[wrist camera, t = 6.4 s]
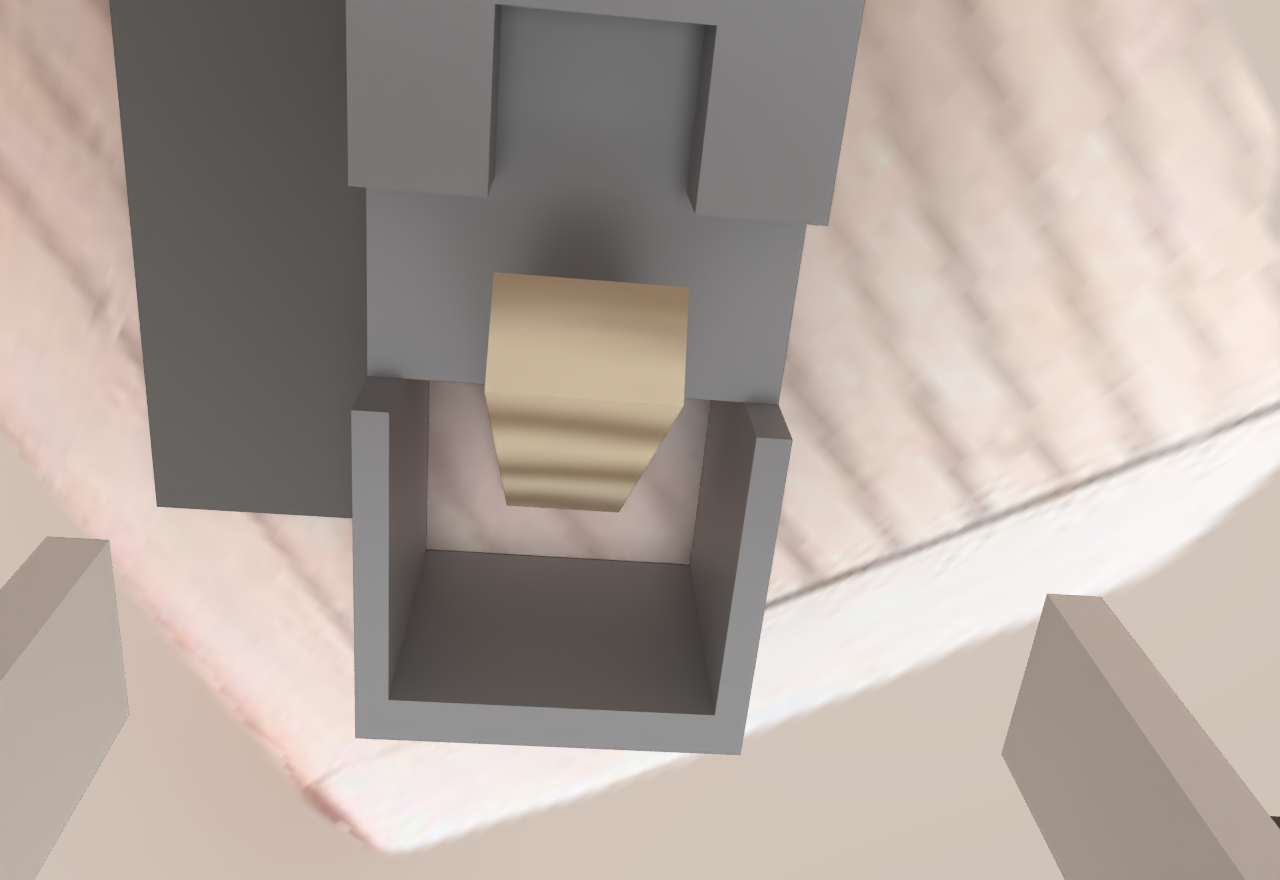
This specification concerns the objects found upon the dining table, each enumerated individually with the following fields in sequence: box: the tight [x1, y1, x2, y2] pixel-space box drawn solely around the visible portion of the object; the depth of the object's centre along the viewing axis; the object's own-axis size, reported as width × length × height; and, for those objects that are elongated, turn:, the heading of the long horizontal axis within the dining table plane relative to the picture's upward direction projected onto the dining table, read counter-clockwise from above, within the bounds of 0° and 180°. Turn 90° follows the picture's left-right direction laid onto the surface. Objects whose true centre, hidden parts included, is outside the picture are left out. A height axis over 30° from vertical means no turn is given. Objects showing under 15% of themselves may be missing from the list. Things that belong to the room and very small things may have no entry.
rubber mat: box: [109, 0, 367, 518], centre depth 37 cm, size 20×8×1 cm, turn 175°
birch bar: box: [484, 272, 689, 512], centre depth 32 cm, size 18×4×2 cm
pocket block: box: [346, 0, 865, 755], centre depth 34 cm, size 23×12×9 cm, turn 175°
